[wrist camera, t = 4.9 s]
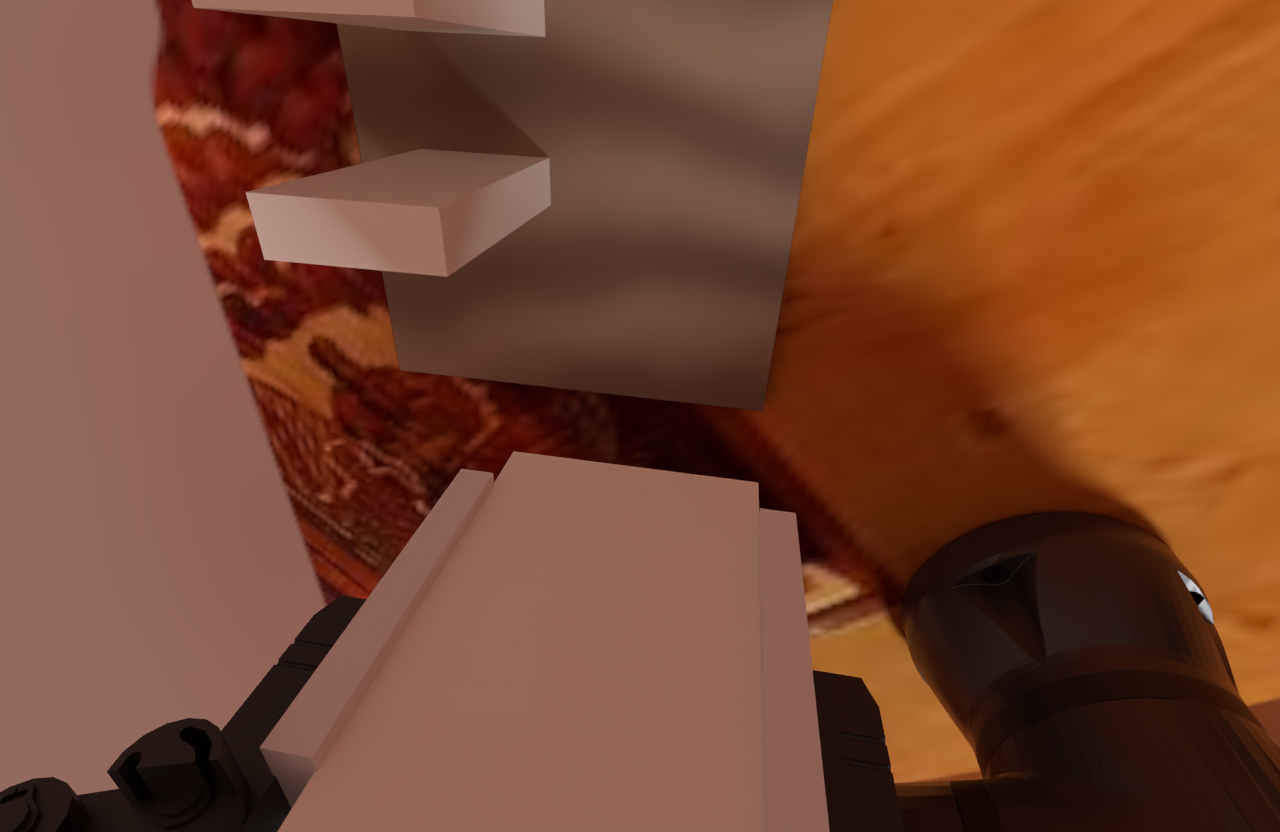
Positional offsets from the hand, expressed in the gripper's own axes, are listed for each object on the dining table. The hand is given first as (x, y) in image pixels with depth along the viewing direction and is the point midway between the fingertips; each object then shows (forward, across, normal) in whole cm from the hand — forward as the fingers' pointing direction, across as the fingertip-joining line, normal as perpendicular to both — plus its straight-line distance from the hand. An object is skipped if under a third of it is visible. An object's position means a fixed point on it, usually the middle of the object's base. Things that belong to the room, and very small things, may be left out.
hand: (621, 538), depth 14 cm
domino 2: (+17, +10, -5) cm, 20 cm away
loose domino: (+1, 0, 0) cm, 1 cm away
